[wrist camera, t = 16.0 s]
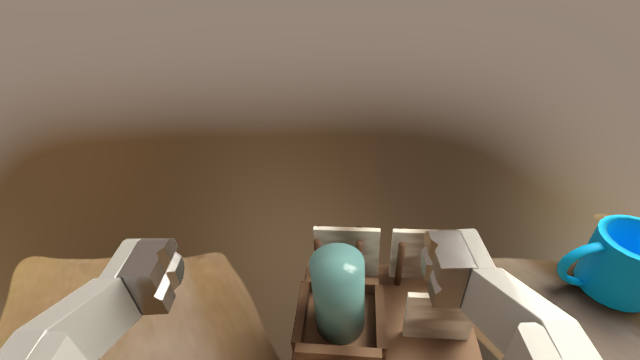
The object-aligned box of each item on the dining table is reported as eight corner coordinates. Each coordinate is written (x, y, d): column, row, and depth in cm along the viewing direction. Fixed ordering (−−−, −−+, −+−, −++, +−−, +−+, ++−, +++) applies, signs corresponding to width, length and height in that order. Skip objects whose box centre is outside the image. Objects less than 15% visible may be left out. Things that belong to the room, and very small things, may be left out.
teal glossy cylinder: (313, 342, 39) (304, 282, 34) (319, 300, 44) (313, 241, 38) (363, 346, 39) (363, 286, 33) (365, 303, 43) (365, 243, 38)
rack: (292, 366, 38) (283, 317, 33) (308, 266, 50) (303, 218, 45) (484, 380, 36) (507, 330, 31) (455, 272, 48) (468, 222, 42)
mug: (620, 258, 48) (649, 212, 44) (669, 311, 42) (710, 263, 37) (531, 263, 48) (551, 218, 44) (567, 316, 42) (594, 269, 37)
